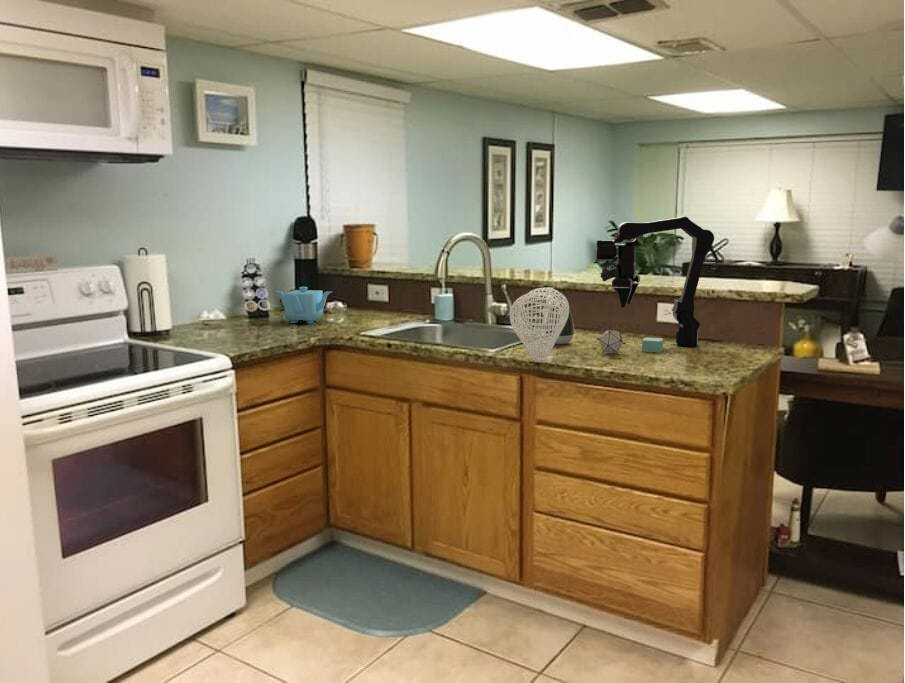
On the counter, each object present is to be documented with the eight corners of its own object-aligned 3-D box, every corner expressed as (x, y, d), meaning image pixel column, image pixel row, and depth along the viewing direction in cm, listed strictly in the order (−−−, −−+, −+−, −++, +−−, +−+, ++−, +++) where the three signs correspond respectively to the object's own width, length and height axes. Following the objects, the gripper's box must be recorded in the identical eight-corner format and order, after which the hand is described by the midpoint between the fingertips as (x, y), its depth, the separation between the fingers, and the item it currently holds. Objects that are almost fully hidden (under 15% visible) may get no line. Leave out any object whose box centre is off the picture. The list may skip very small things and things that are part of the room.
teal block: (662, 350, 258) (663, 338, 257) (660, 353, 253) (661, 341, 252) (644, 349, 260) (644, 337, 259) (641, 352, 255) (642, 340, 254)
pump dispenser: (577, 342, 273) (578, 299, 270) (569, 347, 264) (570, 302, 261) (549, 340, 277) (550, 297, 275) (540, 344, 268) (541, 301, 265)
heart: (556, 373, 223) (558, 296, 219) (504, 370, 228) (504, 294, 224) (571, 355, 250) (572, 286, 246) (524, 352, 254) (524, 284, 250)
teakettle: (314, 317, 336) (312, 283, 333) (335, 322, 321) (334, 287, 319) (273, 322, 324) (271, 286, 322) (293, 327, 310) (292, 290, 307)
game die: (604, 363, 254) (592, 337, 258) (628, 354, 254) (615, 327, 258) (606, 355, 246) (593, 327, 249) (631, 345, 246) (618, 318, 249)
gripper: (608, 257, 274) (608, 301, 277) (596, 261, 257) (596, 308, 260) (640, 257, 270) (639, 302, 272) (630, 261, 253) (630, 309, 256)
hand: (625, 305), depth 265 cm, fingers open, 9 cm apart
